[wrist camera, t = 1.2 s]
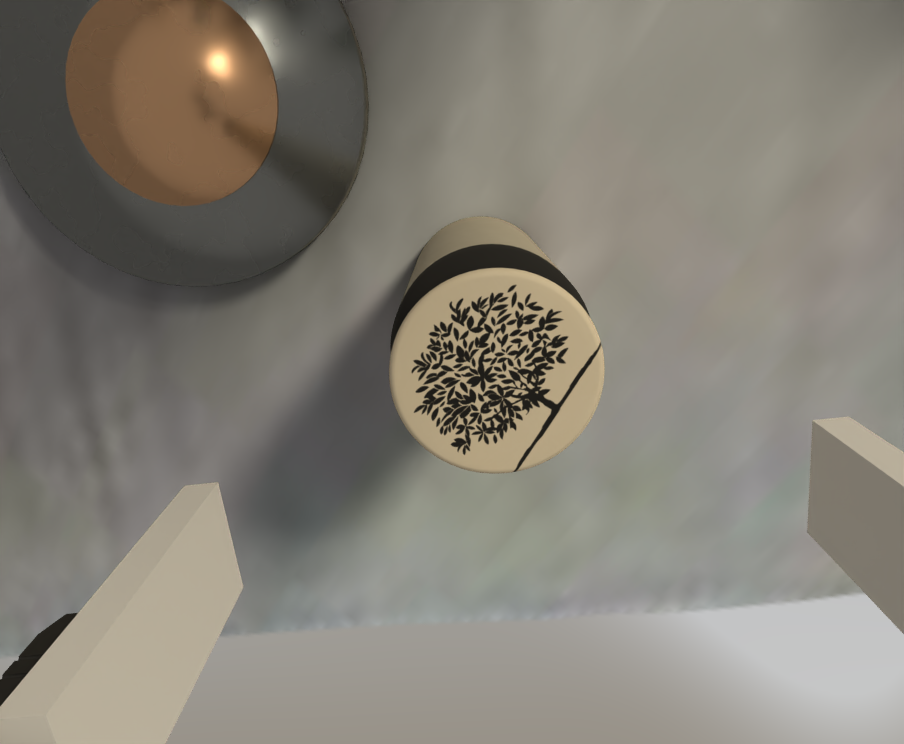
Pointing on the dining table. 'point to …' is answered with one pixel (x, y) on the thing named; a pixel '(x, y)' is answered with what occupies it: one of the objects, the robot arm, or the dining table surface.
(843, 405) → the dining table surface
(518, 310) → the travel mug
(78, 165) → the grey flat disc
